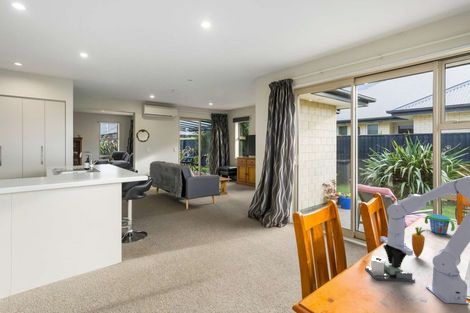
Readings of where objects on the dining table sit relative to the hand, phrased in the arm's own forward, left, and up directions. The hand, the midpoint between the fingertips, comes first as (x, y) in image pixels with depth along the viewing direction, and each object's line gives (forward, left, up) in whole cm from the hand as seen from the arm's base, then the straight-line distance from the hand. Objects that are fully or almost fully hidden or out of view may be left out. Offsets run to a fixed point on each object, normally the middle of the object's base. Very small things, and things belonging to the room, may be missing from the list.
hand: (394, 264), depth 102 cm
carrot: (+18, -21, -5) cm, 28 cm away
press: (0, +3, -4) cm, 5 cm away
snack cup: (+55, -58, -5) cm, 80 cm away
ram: (0, +1, -3) cm, 3 cm away
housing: (0, +7, -3) cm, 7 cm away
